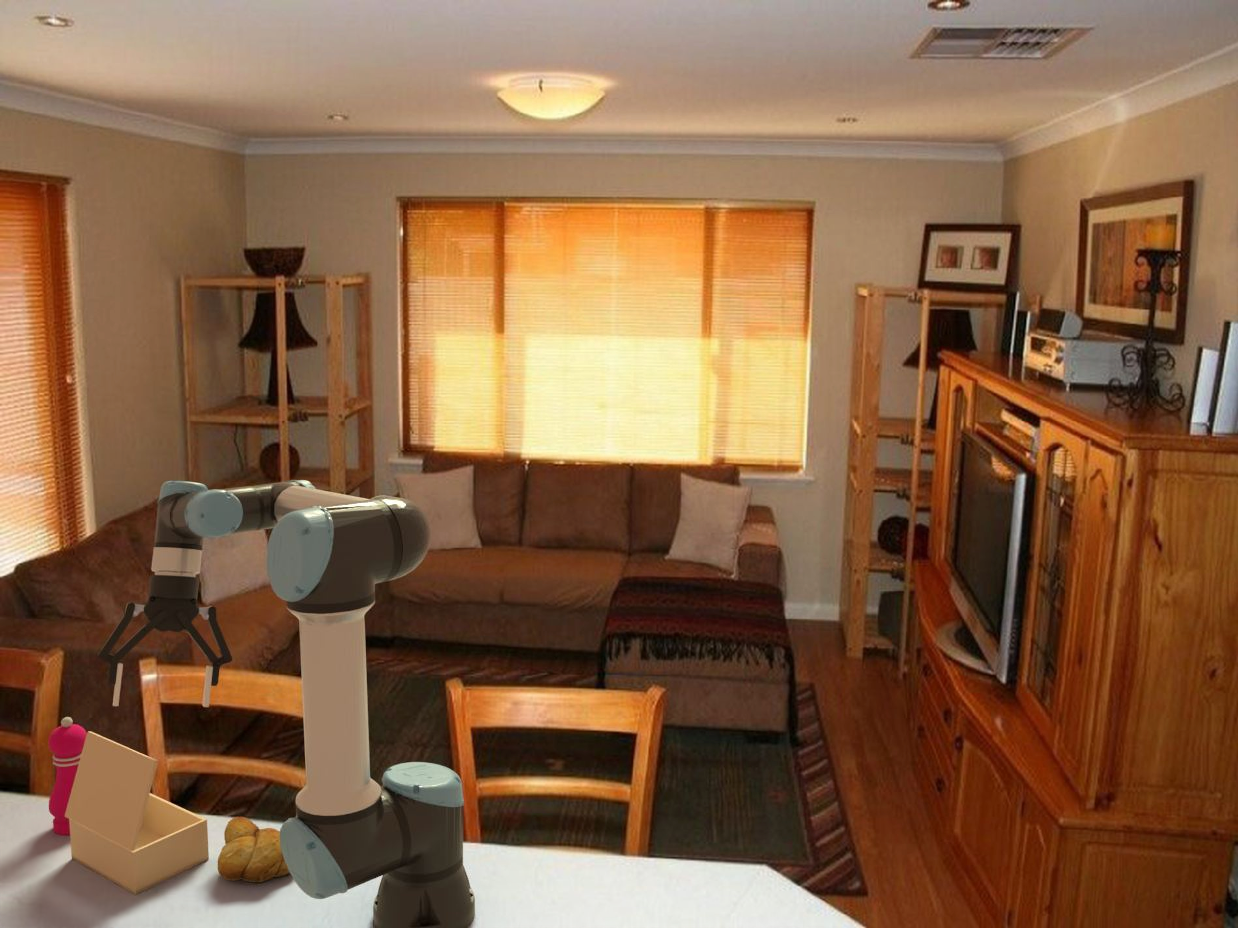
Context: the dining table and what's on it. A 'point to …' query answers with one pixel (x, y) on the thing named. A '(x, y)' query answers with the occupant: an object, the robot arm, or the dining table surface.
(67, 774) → the pepper mill
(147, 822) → the mailer box
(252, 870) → the bread roll
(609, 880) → the dining table surface
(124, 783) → the lid
